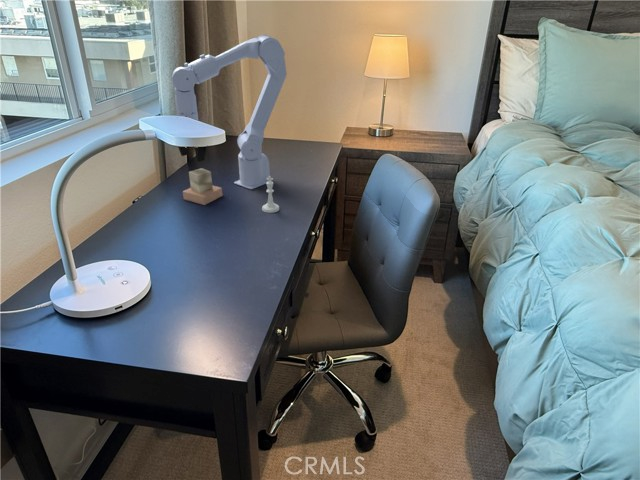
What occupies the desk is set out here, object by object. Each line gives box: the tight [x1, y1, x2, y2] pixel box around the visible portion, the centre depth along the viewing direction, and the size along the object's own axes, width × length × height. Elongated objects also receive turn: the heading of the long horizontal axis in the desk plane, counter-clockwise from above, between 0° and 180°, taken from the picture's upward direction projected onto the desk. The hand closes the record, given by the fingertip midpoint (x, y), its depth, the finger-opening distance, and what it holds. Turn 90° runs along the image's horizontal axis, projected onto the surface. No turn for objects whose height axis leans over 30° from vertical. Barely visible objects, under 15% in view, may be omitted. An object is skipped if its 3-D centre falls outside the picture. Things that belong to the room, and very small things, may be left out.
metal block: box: [188, 167, 213, 193], centre depth 131 cm, size 4×4×6 cm
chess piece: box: [261, 175, 280, 214], centre depth 125 cm, size 5×5×10 cm
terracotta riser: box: [182, 184, 223, 206], centre depth 133 cm, size 8×8×3 cm
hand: (192, 157), depth 134 cm, fingers open, 7 cm apart
